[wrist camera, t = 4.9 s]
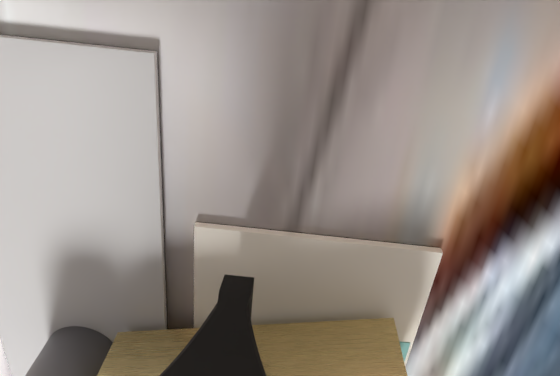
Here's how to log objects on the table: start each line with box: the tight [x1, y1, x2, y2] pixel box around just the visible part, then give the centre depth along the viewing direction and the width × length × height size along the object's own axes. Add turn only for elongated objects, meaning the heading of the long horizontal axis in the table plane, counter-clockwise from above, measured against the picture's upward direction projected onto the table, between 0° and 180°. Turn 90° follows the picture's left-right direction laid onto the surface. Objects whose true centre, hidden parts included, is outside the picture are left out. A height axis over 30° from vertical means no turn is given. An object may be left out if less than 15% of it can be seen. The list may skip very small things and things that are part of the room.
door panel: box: [0, 35, 443, 376], centre depth 13 cm, size 16×14×4 cm
